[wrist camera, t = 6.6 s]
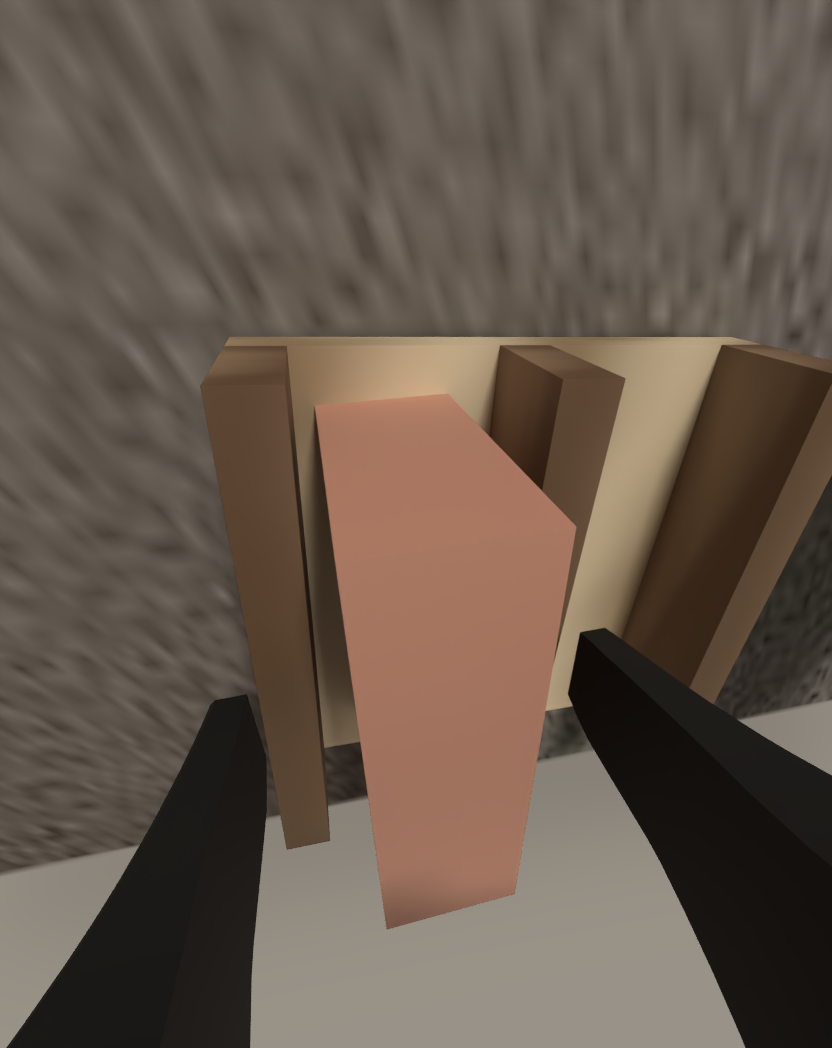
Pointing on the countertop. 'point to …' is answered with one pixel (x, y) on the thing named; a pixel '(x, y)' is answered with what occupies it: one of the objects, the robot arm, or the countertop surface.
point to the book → (443, 640)
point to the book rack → (556, 468)
